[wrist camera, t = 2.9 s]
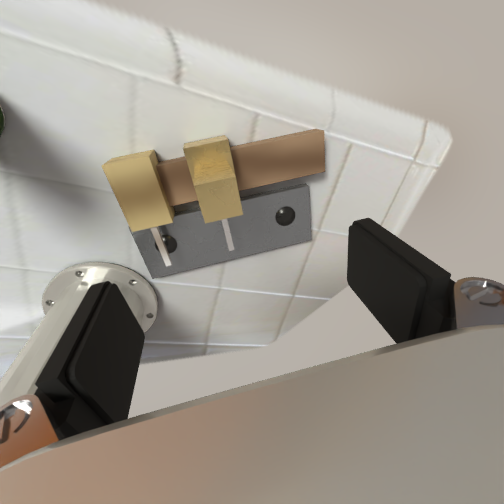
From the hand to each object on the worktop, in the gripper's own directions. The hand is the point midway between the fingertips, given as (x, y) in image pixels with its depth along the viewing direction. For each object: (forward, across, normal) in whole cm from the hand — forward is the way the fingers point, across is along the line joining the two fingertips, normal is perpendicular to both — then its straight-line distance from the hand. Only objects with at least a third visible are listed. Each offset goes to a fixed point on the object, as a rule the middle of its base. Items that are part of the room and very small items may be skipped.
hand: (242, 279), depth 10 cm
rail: (+20, -1, +3) cm, 20 cm away
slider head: (+19, 0, +3) cm, 20 cm away
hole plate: (+20, 0, +7) cm, 21 cm away
